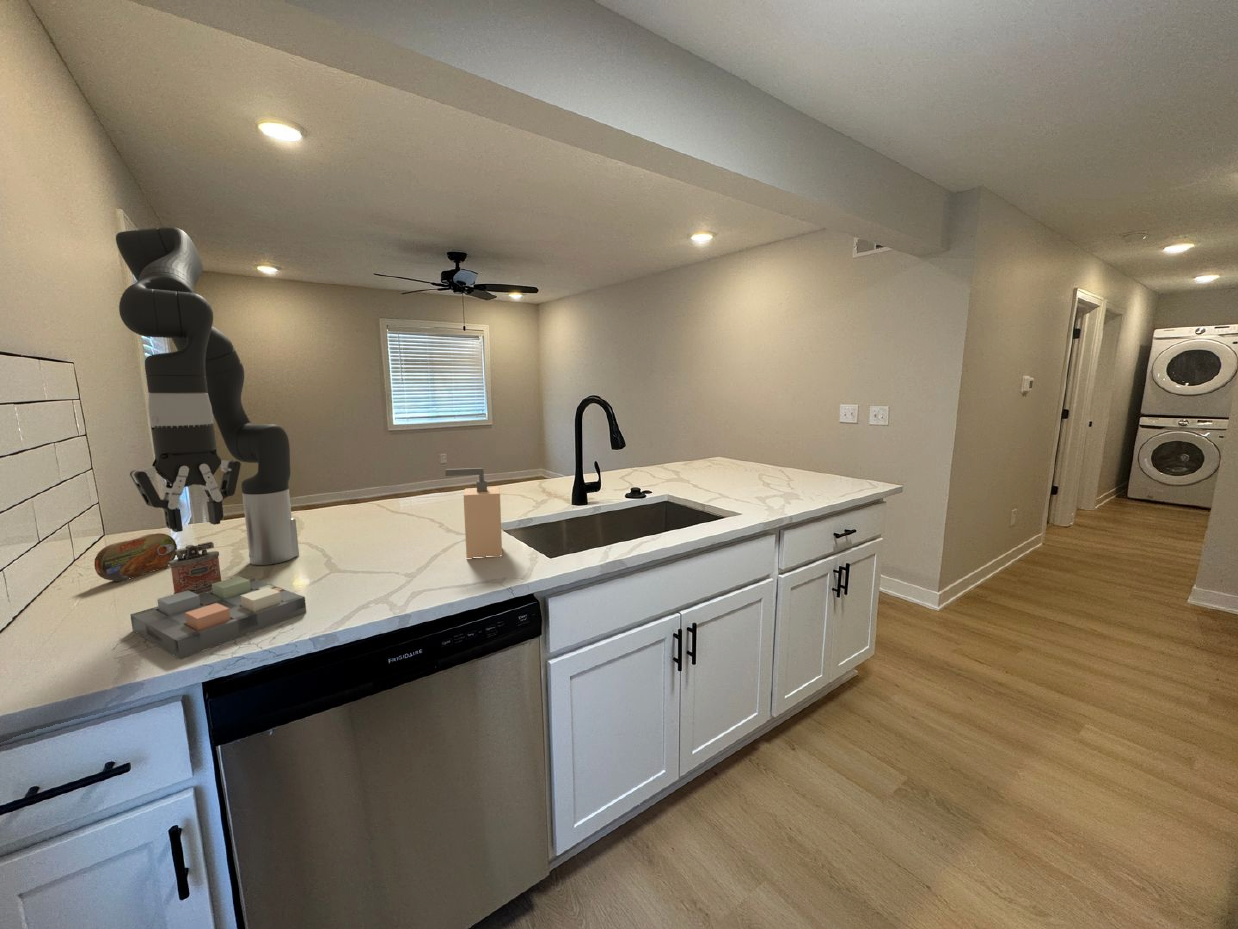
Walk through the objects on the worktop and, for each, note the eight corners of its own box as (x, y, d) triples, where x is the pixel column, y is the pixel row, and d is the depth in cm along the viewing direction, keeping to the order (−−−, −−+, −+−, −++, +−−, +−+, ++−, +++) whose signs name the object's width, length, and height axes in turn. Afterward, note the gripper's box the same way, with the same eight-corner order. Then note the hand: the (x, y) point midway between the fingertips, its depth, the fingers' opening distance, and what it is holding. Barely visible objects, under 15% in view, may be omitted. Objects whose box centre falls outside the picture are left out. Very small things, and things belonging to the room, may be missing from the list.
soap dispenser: (501, 546, 133) (498, 465, 130) (502, 556, 125) (499, 470, 121) (450, 550, 130) (446, 466, 126) (448, 561, 122) (444, 472, 118)
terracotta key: (218, 616, 87) (216, 602, 86) (230, 622, 84) (229, 608, 84) (187, 626, 83) (185, 612, 82) (199, 633, 81) (197, 618, 80)
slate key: (189, 603, 92) (188, 590, 92) (200, 608, 90) (199, 595, 89) (159, 612, 88) (157, 599, 88) (169, 618, 86) (168, 604, 86)
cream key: (268, 599, 93) (267, 587, 93) (281, 604, 91) (280, 591, 91) (242, 608, 90) (240, 595, 89) (254, 614, 88) (253, 600, 87)
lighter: (177, 600, 99) (170, 551, 98) (171, 596, 101) (164, 548, 99) (225, 586, 106) (220, 541, 104) (219, 583, 108) (213, 538, 106)
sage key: (239, 588, 99) (238, 576, 98) (251, 592, 97) (249, 580, 96) (213, 596, 95) (211, 583, 95) (224, 601, 93) (222, 588, 92)
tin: (105, 587, 106) (99, 548, 104) (94, 586, 106) (88, 547, 105) (180, 563, 120) (175, 529, 119) (170, 562, 121) (165, 528, 120)
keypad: (255, 592, 103) (253, 577, 102) (306, 612, 94) (304, 596, 93) (132, 630, 86) (130, 613, 86) (179, 659, 77) (177, 639, 77)
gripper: (224, 419, 86) (235, 515, 89) (112, 424, 74) (128, 535, 77) (246, 420, 83) (257, 520, 85) (131, 425, 71) (148, 542, 73)
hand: (196, 526), depth 81 cm, fingers open, 4 cm apart
